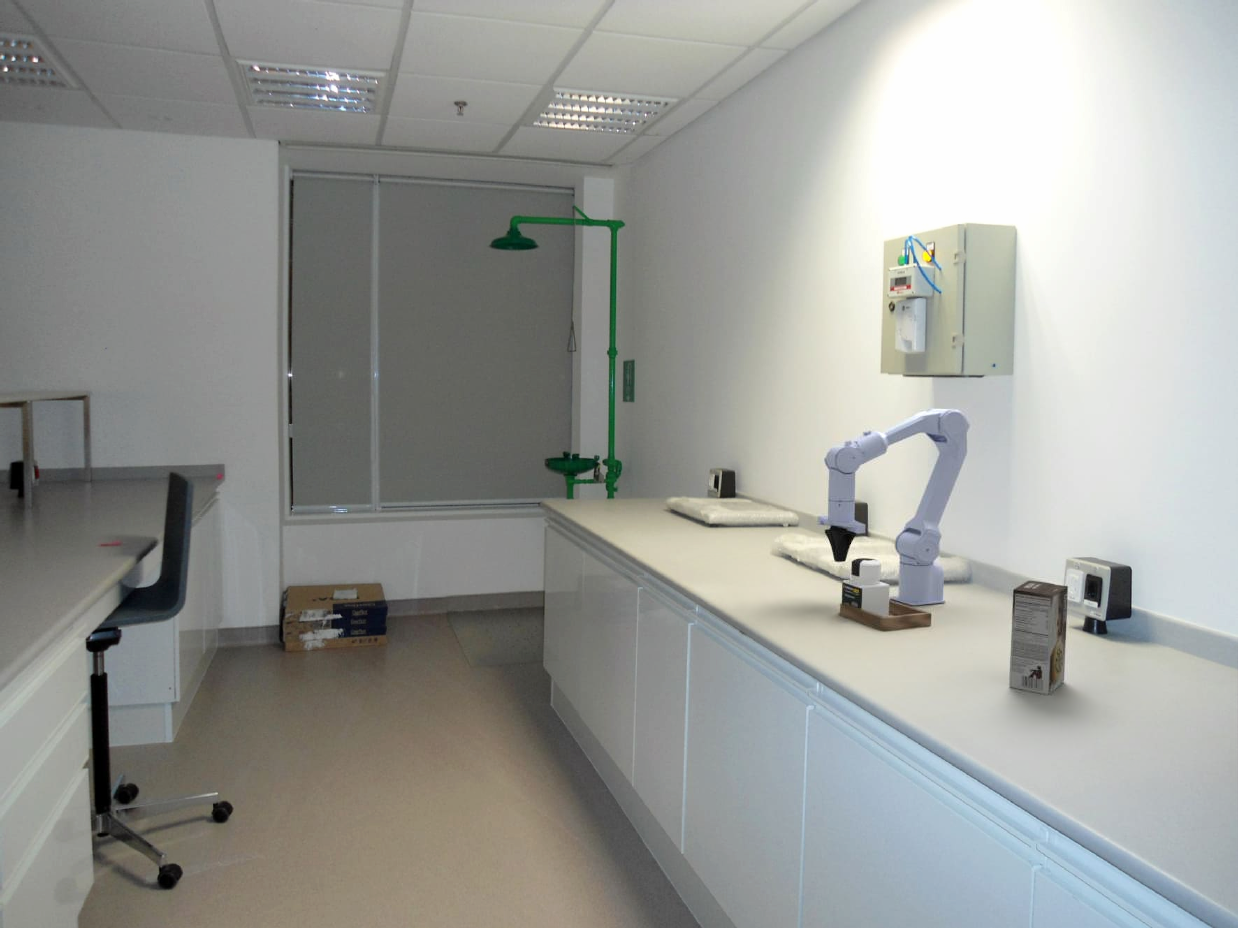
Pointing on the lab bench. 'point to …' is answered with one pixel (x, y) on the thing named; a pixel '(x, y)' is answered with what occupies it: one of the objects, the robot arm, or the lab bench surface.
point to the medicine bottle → (866, 587)
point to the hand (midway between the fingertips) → (839, 561)
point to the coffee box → (1038, 637)
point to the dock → (904, 618)
